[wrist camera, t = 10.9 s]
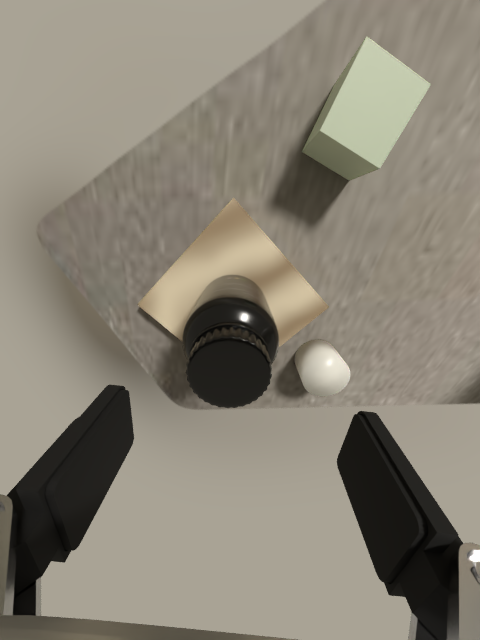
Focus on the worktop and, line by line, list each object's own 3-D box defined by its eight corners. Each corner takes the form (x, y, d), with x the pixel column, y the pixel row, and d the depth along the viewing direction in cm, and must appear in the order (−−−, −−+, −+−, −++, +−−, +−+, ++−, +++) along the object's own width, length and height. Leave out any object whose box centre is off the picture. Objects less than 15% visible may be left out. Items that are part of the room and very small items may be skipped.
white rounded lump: (343, 357, 28) (359, 378, 24) (311, 381, 29) (321, 404, 26) (319, 331, 27) (331, 348, 23) (285, 357, 28) (292, 377, 24)
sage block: (384, 118, 19) (431, 84, 14) (348, 180, 21) (379, 168, 16) (334, 83, 18) (366, 36, 14) (301, 152, 20) (319, 130, 15)
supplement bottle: (261, 338, 25) (278, 428, 14) (198, 332, 25) (165, 418, 14) (271, 276, 23) (302, 326, 11) (201, 268, 22) (163, 312, 11)
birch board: (324, 302, 25) (329, 307, 24) (233, 376, 29) (233, 384, 28) (233, 199, 21) (233, 197, 20) (143, 300, 25) (137, 304, 24)
